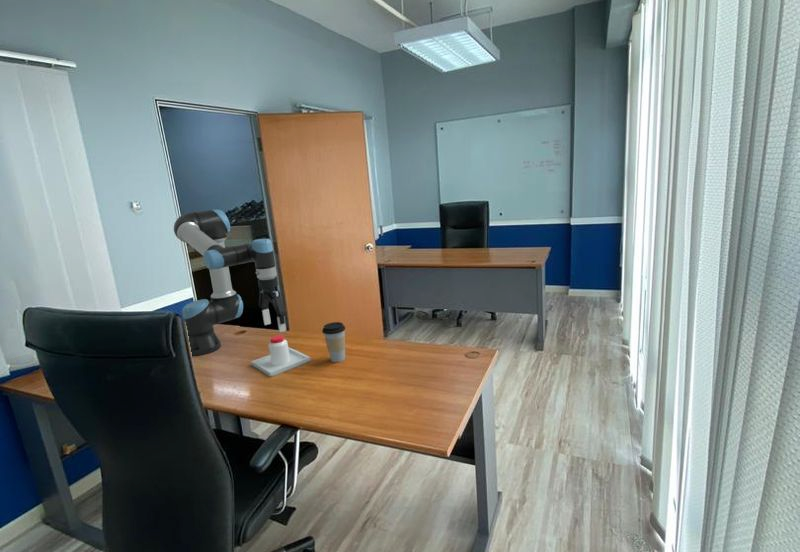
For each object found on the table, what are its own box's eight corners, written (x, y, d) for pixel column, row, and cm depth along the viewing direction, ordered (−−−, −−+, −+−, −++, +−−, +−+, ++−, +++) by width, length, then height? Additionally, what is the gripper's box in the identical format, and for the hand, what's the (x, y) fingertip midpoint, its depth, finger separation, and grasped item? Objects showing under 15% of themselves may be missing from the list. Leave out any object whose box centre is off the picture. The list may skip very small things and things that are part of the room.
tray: (252, 365, 179) (251, 361, 179) (290, 351, 191) (289, 347, 190) (271, 377, 166) (270, 372, 165) (311, 361, 177) (310, 357, 177)
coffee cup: (351, 354, 181) (347, 320, 177) (346, 363, 171) (341, 328, 168) (329, 355, 182) (325, 322, 178) (323, 364, 173) (318, 330, 169)
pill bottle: (287, 365, 174) (283, 340, 172) (268, 366, 174) (264, 341, 172) (292, 357, 182) (288, 333, 179) (274, 358, 182) (270, 334, 180)
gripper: (245, 275, 177) (253, 324, 182) (272, 284, 159) (280, 337, 163) (262, 272, 182) (269, 319, 187) (290, 279, 163) (298, 331, 168)
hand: (275, 327), depth 175 cm, fingers open, 13 cm apart
